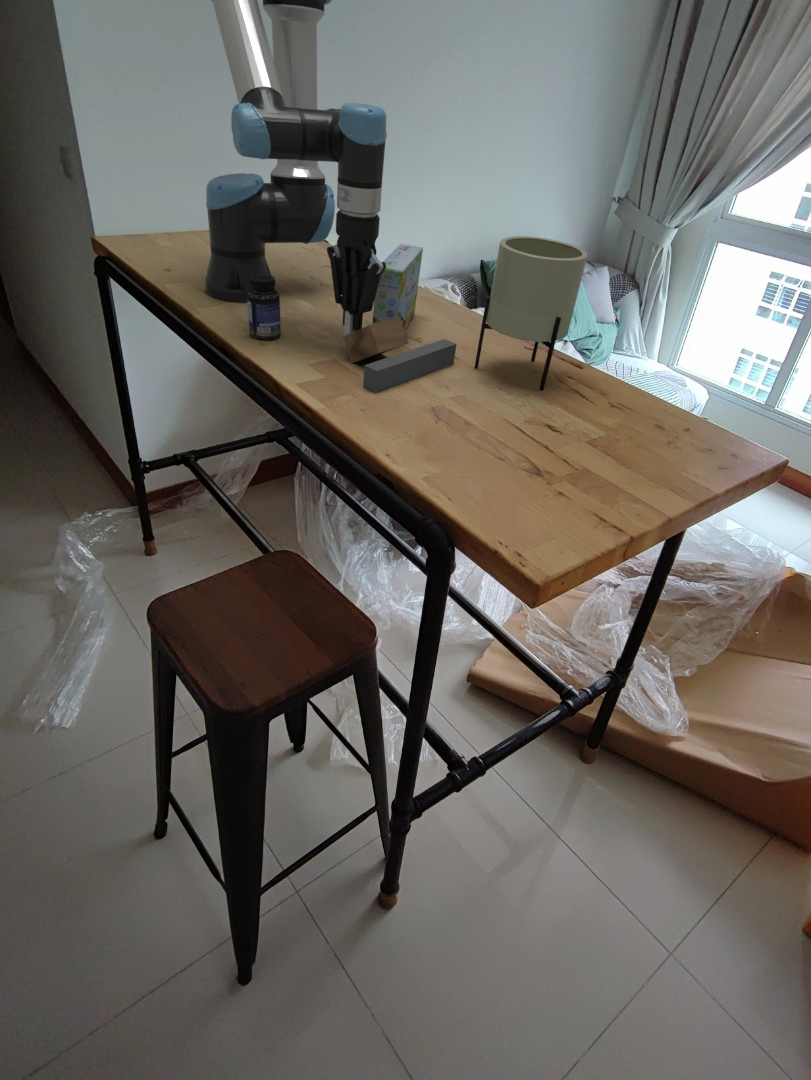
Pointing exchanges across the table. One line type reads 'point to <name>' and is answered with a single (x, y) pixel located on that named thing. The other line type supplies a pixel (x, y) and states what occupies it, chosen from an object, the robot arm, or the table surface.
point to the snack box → (398, 285)
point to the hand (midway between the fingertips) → (351, 344)
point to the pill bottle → (264, 308)
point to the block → (375, 339)
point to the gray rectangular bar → (408, 365)
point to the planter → (534, 292)
